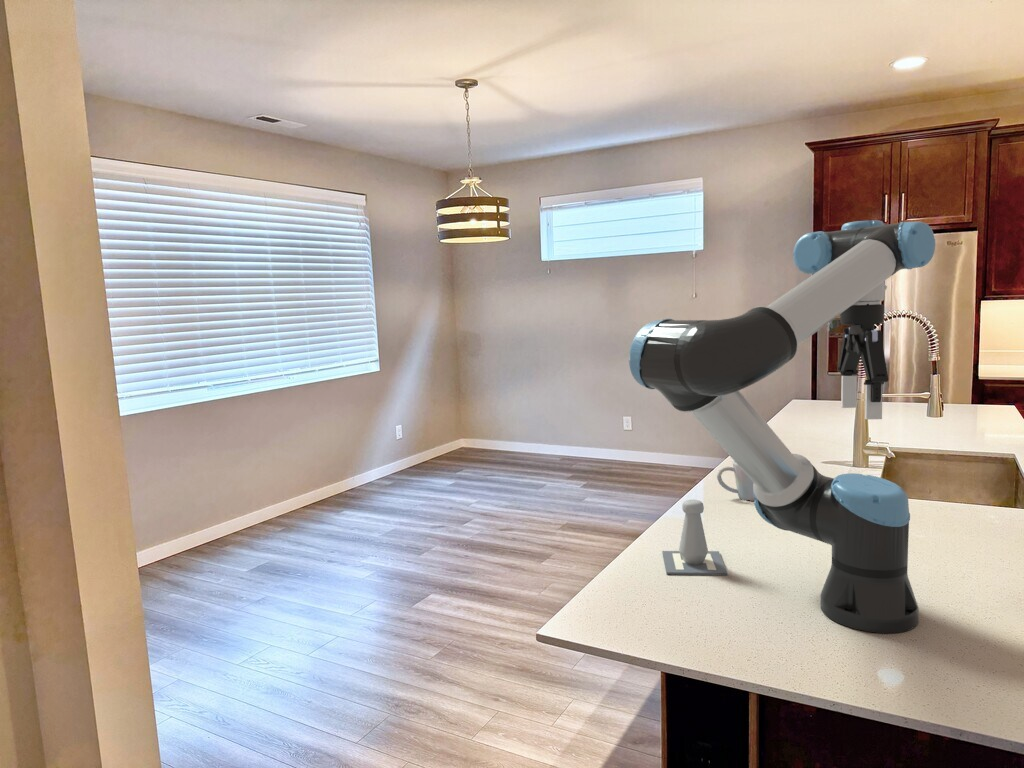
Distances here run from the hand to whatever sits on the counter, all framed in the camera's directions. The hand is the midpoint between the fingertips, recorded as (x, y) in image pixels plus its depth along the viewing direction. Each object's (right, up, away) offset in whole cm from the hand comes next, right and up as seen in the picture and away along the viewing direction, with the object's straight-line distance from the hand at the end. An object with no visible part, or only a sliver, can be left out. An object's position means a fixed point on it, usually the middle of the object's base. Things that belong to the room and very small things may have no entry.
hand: (860, 413), depth 136 cm
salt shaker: (-30, -32, +11) cm, 45 cm away
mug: (-4, -26, +55) cm, 61 cm away
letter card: (-30, -32, +10) cm, 45 cm away
